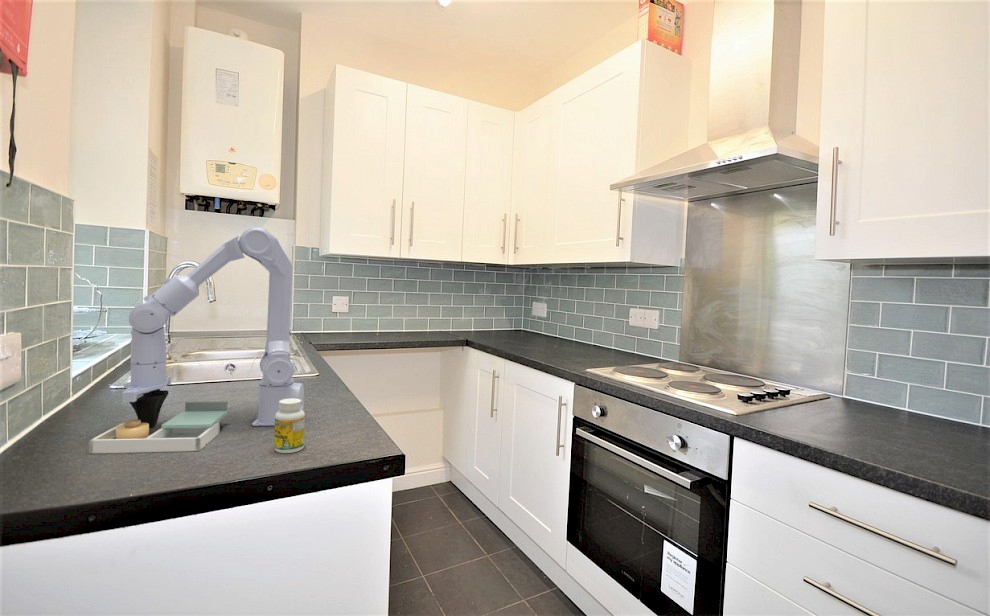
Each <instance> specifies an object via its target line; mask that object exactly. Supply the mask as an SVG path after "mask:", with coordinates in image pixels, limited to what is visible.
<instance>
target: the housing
mask: <svg viewBox="0 0 990 616" xmlns="http://www.w3.org/2000/svg"><path fill="white" fill-rule="evenodd" d="M124 424H125V422H124V423H122V422H121V423H120V424H118V425H116V426H114V427H112V428H110V429H108V430H106V431H105V432H103V433H101V434H99V435H97V436H95V437H93V438H92V439H89V441H88V454H121V453H122V454H125V453H126V454H128V453H129V454H130V453H164V452H166V453H167V452H170V453H171V452H173V453H174V452H175V453H176V452H200V451H201V450H203V448H204V447H206V446H207V445H208V444H209V443H210V442H211V441H212V440H213V439H215V438H216V437H218V436H219V434H220V428H221V427H220V426H221V425H220V424H221V422H220V421H218V422H217V423H215V424H214V425H213V426H212V427H195V428H162V427H161V428H159V429H158V430H156V431H154V432H153V433H151V434H149V436H148V437H147V438H144V439H116V428H117V427H118V426H120V425H124ZM206 444H207V445H206Z"/></svg>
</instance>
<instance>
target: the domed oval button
mask: <svg viewBox="0 0 990 616" xmlns="http://www.w3.org/2000/svg"><path fill="white" fill-rule="evenodd" d="M124 423H125V424H124V425H120V424H119V425H120V426H118V425H117V426H118V427H117V428H116V439H144V438H147V437H148V436H150V429H149V424H148V423H144V422H141V420H139V419H138V418H137V419H134V418H133V419H130V420H126V421H124Z"/></svg>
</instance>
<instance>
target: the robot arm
mask: <svg viewBox="0 0 990 616" xmlns="http://www.w3.org/2000/svg"><path fill="white" fill-rule="evenodd" d="M245 256H247V257H249V258H251V259H253V260H255V261H256V262H258V263H259V264H260V265H261V266H263V268H265V270H267V272H268V273H269V276H268V277H269V279H268V301H267V321H266V323H267V324H266V340H265V341H266V342H265V347H264V354H263V356H262V357H261V359H260V361H259V362H260V363H259V368H260V371H261V373H262V375H263V376H262V378H261V379H260V380H258V404H257V405H258V407H257V410H258V411H257V412H258V415H257V418H256V419H255V420H254V421H253V422H252V423H251V426H253V427H254V426H255V427H256V426H257V427H258V426H261V427H262V426H265V427H266V426H270V427H271V426H275V415H276V413H277V412H278V411H280V409H279V401H280V400H283V399H290V398H295V399H300V400H301V405H302V406H301V408H300V409H301V410H303V411H304V412H305V410H304V408H305V405H304V404H305V403H304V401H305V387H304V383H302V382H301V383H300V382H294V378H293V375H294V374H295V368H294V364H293V362H292V361H291V347H290V327H291V325H290V324H291V304H292V285H293V284H292V283H293V282H292V281H293V264H292V263H293V262H292V261H291V260H290V258H289V257H288V255H287V254H286V252H285V250H284V249H283V248H282V245H281V244H280V242H279V240H278V239H277V237H275V236H274V235H273V234H272V233H271V232H269V231H268V230H266V229H264V228H262V227H258V226H253V227H249V228H247V229H246V230H244V231H243V232H242V234H241V235H240V234H239V235H237V236H235V237H233V238H231V239H229V240H228V241H226V242H225V243H223V244H222V245H220V246H219V247H218V248H217V249H216V250H215V251H213V252H212V253H211V254H210V255H208V257H205V259H204V260H203V261H202V262H200V263H199V264H198V265H197V266H196V267H195V268H194V269H193V270H191V272H189V273H188V274H186V275H181V274H180V275H174V276H173V277H172V278H171V277H167V278H165V279H164V280H163V282H162V283H164V284H163V285H162V286H161V287H159V288H158V289H157V290H155V291H154V292H153V293H152V294H151V295H149V294H147V295H145V296H144V297H143V299H142V300H144V301H145V302H143V303H140V304H139V303H138V304H136V305H135V306H134V308H133V309H132V310H131V311H130V312H129V316H128V323H129V325H130V326H131V332H130V335H131V340H130V381H129V382H125V383H124V385H123V388H125V389H126V390H124V391H122V393H121V394H122V395H121V399H122V401H121V402H122V403H129V404H130V405H131V407H132V408H133V410H134V412H135V414H136V418H137V419H139V420H141V422H144V423H148V424H149V430H151V429H154V428H156V426H157V424H158V419H159V416H160V412H161V410H162V407H163V404H164V402H165V400H166V398H167V397H168V396H169V390H166V389H165V390H161V389H163V388H166V387H167V386H170V385H172V376H171V375H166V374H167V372H166V371H167V370H166V369H167V361H166V360H167V357H166V355H167V354H166V353H167V339H166V336H165V333H166V332H165V325H166V323H167V322H168V319H169V318H170V317H174V316H176V315H178V313H180V311H182V310H183V309H184V308H186V307H187V306H188V305H190V303H191V302H192V301H194V300H196V298H197V297H199V296H200V285H201V286H202V284H203V283H204V282H206V281H207V280H208V279H210V278H211V277H212V276H213V275H215V274H216V273H217V272H218V271H219V270H221V269H223V267H225V266H226V265H227V264H229V263H230V262H234V261H237V260H240V259H241V260H242V259H245V258H246V257H245Z"/></svg>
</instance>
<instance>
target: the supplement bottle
mask: <svg viewBox="0 0 990 616" xmlns="http://www.w3.org/2000/svg"><path fill="white" fill-rule="evenodd" d="M301 406H302V405H301V400H300V399H295V398H290V399H283V400H280V401H279V409H280V411H278V412H277V413H276V415H275V425H274V451H275V452H277V453H280V454H293V453H297V452H299V451H302V450H303V449H304V448H305V441H306V440H305V437H306V436H305V435H306V434H305V432H306V430H305V429H306V427H305V425H306V413H305V410H304V411H303V410H301V409H300V408H301Z"/></svg>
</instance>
